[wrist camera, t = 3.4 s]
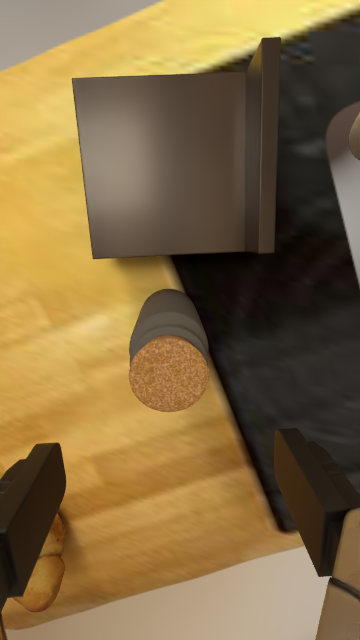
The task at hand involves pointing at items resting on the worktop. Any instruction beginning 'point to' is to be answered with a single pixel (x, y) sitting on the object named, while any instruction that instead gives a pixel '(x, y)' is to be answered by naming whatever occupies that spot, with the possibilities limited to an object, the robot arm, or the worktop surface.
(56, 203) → the worktop surface
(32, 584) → the bread roll
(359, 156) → the mug
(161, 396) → the bottle
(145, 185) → the dark brown legged piece
